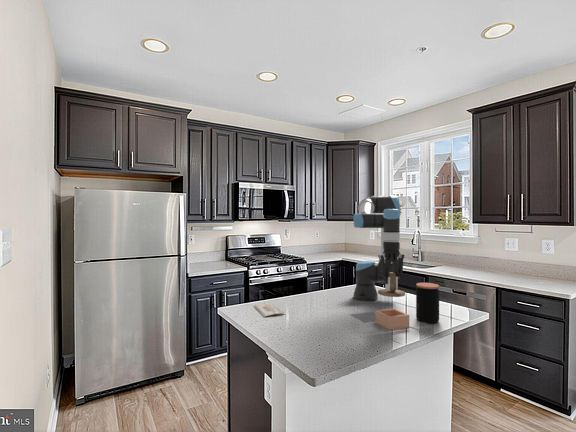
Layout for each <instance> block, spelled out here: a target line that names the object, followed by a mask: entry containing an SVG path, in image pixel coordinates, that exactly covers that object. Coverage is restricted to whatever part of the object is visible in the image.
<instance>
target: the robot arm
mask: <svg viewBox="0 0 576 432" xmlns="http://www.w3.org/2000/svg"><path fill="white" fill-rule="evenodd" d="M357 207H358V208H357V210H358V213H354V214H353V227H354V228H356V229H380V254H378V262H377V263H376V261H375V260H363V261H359V262H357V263H356V269H355V273H356V274H355V275H356V276H355V288H354V292H353V296H352V297H353V298H354V299H356V300H358V301H364V302H365V301H369V302H370V301H371V302H372V301H376V300H378V298H379V294H378V290H377V289H376V283H384V284H385V285H384V289H385V290H387V291H390V277H388V276H389V272H393V273H395V290H396V291H397V290H399V289H398V288H399V287H398V286H399V285H398V284H399V282H400V277H401V276H402V275H403V272H404V270H403V269H404V259H405V254H402V253H400V248H401V243H400V241H401V239H400V238H401V237H400V235H401V232H400V228H401V227H400V224H401V221H400V220H401V213H402V212H401V204H400V199H399V197H398V196H397V195H372V196H369V197H368V196H367V197H366V198H364V199H362V200H361V201H359V203H358V206H357Z"/></svg>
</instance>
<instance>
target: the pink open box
mask: <svg viewBox="0 0 576 432" xmlns="http://www.w3.org/2000/svg"><path fill="white" fill-rule="evenodd" d="M375 313H376V321H375V323H376V324H378V325H380V326H381V327H384V328H386V329H387V330H397V329H398V330H399V329H404V328H410V314H408V313H406V312H404V311H401V310H399V309H396V308H388V309H380V310H375Z"/></svg>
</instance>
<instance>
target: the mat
mask: <svg viewBox="0 0 576 432" xmlns="http://www.w3.org/2000/svg"><path fill="white" fill-rule="evenodd" d="M349 315H350V316H351V317H354V318H356V320H358V321H360V322H362V323H365V324H366V323H372V322H373V323H374V322H376V312H374V311H369V312H359V313H352V314H351V313H350V314H349Z"/></svg>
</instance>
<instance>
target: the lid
mask: <svg viewBox="0 0 576 432" xmlns="http://www.w3.org/2000/svg"><path fill="white" fill-rule="evenodd" d="M388 277H390V291H387V290H385V288H382V289H381V288H380V289H378V290H377V294H378V295H381V296H383V297H390V298H401V297H402V298H403V297H405V296H406V292H405V291H404V290H401V289H398V290H397V291H396V290H395V273H393V272H389V276H388Z"/></svg>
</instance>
